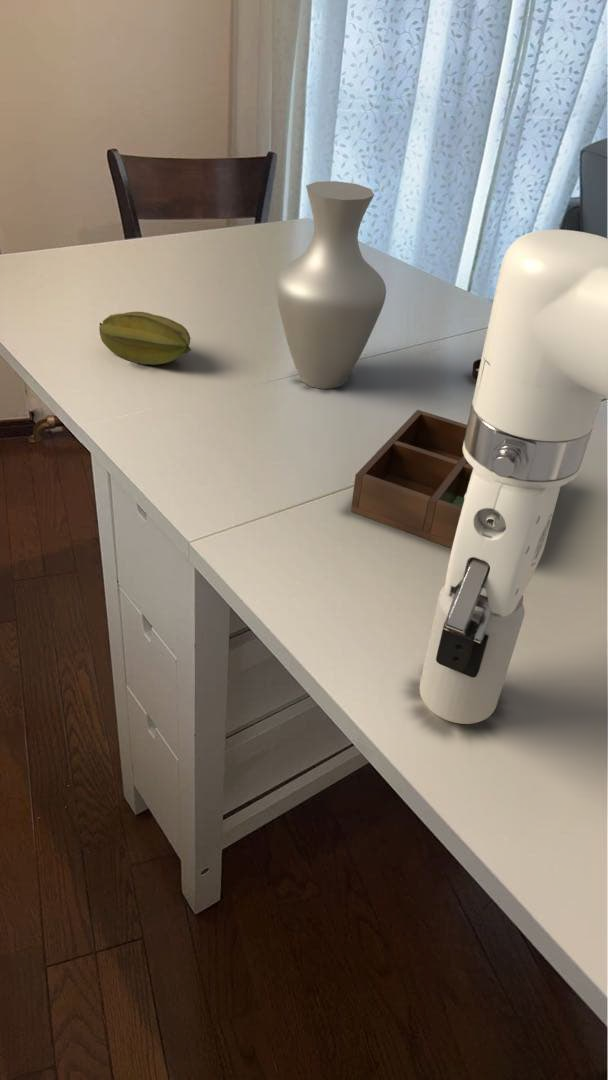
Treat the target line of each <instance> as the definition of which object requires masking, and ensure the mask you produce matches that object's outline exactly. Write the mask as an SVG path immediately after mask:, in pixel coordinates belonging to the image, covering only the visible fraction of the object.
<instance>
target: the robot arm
mask: <svg viewBox="0 0 608 1080" xmlns="http://www.w3.org/2000/svg"><path fill="white" fill-rule="evenodd" d="M493 296H494V297H493V301H492V306H491V310H490V315H489V320H488V324H487V330H486V333H485V339H484V343H483V347H482V348H483V349H482V354H481V358H480V359H481V363H480V368H479V369H478V372H479V373H478V378H477V380H476V383H475V387H474V392H473V398H472V401H471V405H470V410H469V414H468V419H467V424H466V425H467V429H466V433H465V438H464V443H463V454H464V457H465V459H466V460H467V462H468V463H469V464H470V465H471V466H472V467H473V471H472V474H471V478H470V481H469V485H468V488H467V492H466V494H465V496H464V503H463V507H462V510H461V514H460V518H459V522H458V526H457V530H456V534H455V538H454V542H453V546H452V548H451V551H450V555H449V559H448V564H447V570H446V575H445V581H444V582H445V583H444V585H445V589H446V592H447V594H448V595H449V596H450V597H451V596H452V595H454V597H453V600H452V603H451V606H450V609H449V612H448V615H447V618H446V621H445V623H444V626H443V630H442V635H441V639H440V643H439V648H438V652H437V656H436V661H437V663H438V664H440V665H443V666H445V667H448V668H450V669H452V670H455V671H457V672H460V673H462V674H465V675H467V676H469V677H472V678H474V677H476V676H477V674H478V672H479V670H480V666H481V662H482V659H483V655H484V652H485V648H486V645H487V641H488V637H489V636H488V635H486V634H485V632H486V629H487V627H488V624H489V621H490V618H491V615H492V612H493V613H496V614H499V615H500V616H503V617H504V616H507V615H509V614H511V613H512V612H513V611H514V610H515V608H516V606H517V604H518V603H519V601H520V599H521V597H522V595H523V596H524V593H525V591H526V589H527V587H528V585H529V583H530V581H531V579H532V577H533V575H534V573H535V571H536V569H537V566H538V564H539V562H540V561H541V558H542V555H543V553H544V550H545V546H546V544H547V543H546V542H547V539H548V535H549V531H550V527H551V523H552V520H553V516H554V513H555V508H556V505H557V501H558V498H559V494H560V491H561V488H562V486H565V485H567V484H570V483H571V482H572V481H574V480H575V479H576V478H577V476H578V475H579V473H580V470H581V466H582V462H583V460H584V457H585V454H586V450H587V447H588V445H589V441H590V438H591V435H592V433H593V428H594V425H595V422H596V418H597V416H598V413H599V410H600V406H601V402H602V399H605V400H607V401H608V238H607V237H604V236H601V235H598V234H594V233H590V232H584V231H578V230H570V229H543V230H536V231H531V232H527V233H525V234H523V235H521V236H519V237H517V238H516V239H515V240H514V241H513V242H512V243H511V244H510V245H509V247H508V249H507V250H506V252H505V253H504V256H503V258H502V261H501V264H500V269H499V273H498V278H497V283H496V288H495V292H494V295H493ZM483 588H484V589H486V593H487V597H486V596H484V595H481V592H482V589H483ZM476 606H478V607H481V608H483V612H482V615H481V618H480V621H479V624H478V623H477V622H475V621H473V620H472V615H473V612H474V609H475V607H476Z"/></svg>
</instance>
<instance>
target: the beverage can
mask: <svg viewBox="0 0 608 1080" xmlns="http://www.w3.org/2000/svg"><path fill="white" fill-rule="evenodd" d="M481 595H484V596H486V597H487V593H486V589H484V588H483V589H482V592H481ZM453 597H454V595H452V596H451V597H450V596H449V595H448V594H447V592H446V589H445V584H444V585H443V586H442V587H441V589H440V590H439V593H438V598H437V603H436V608H435V612H434V617H433V621H432V626H431V630H430V635H429V641H428V645H427V650H426V653H425V658H424V663H423V667H422V673H421V676H420V681H419V695H420V697H421V700H422V702H423V703H424V705H425V706H426V707H427V708H428V709H429V710H430V711H431V712H432V713H433V714H435V715H436V716H437V717H439V718H441V719H443V720H445V721H448V722H450V723H454V724H459V725H460V724H461V725H464V724H465V725H471V724H472V725H473V724H477V723H480V722H482V721H485V720H486V719H489V718H490V716H491V715H492V714H493V713H494V712H495V710H496V708H497V705H498V703H499V699H500V696H501V693H502V689H503V686H504V683H505V680H506V677H507V674H508V670H509V666H510V663H511V660H512V657H513V654H514V650H515V647H516V644H517V640H518V637H519V634H520V631H521V628H522V625H523V621H524V618H525V613H526V612H525V605H524V604H523V603H524V594H523V595H522V597H521V599H520V601H519V603H518V604H517V606H516V608H515V610H514V611H513V612H512V613H511V614H509V615H507V616H504V617H503V616H500V615H499V614H496V613H493V612H492V615H491V618H490V621H489V624H488V627H487V629H486V632H485V634H486V635H488V636H489V637H488V641H487V645H486V648H485V652H484V655H483V659H482V662H481V666H480V670H479V672H478V674H477V676H476V677H474V678H472V677H469V676H467V675H465V674H462V673H460V672H457V671H455V670H452V669H450V668H448V667H445V666H443V665H440V664H438V663H437V661H436V656H437V652H438V648H439V643H440V639H441V635H442V630H443V626H444V623H445V621H446V618H447V615H448V612H449V609H450V606H451V603H452V600H453ZM482 612H483V608H481V607H478V606H476V607H475V609H474V612H473V615H472V620H473V621H475V622H477V623H478V624H479V621H480V618H481V615H482Z"/></svg>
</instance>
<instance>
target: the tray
mask: <svg viewBox="0 0 608 1080" xmlns="http://www.w3.org/2000/svg"><path fill="white" fill-rule="evenodd" d="M466 429H467V424H466V423H462V422H459V421H456V420H453V419H450V418H447V417H443V416H440V415H437V414H433V413H430V412H428V411H423V410H420V409H417V410H415V411H414V412H413V414H412V415H411V416H410V417H408V419H406V421H405V422H404V423H403V424H402V425H401V426H400V427H399V428H398V429H397V430H396V431H395V432H394V433H393V434H392V436H391V437H390V438H389V439H388V440H387V441H386V442H385V443H384V444H383V445H382V446H381V447H380V448H379V449H378V451H377V452H376V453H375V454H374V455H372V457H371V458H370V459H369V460H368V461H367V462H366V463H365V464H363V466H362V467H361V468H360V469H359V470H358V472H356V473H355V477H354V484H353V492H352V497H351V498H352V499H351V505H350V507H351V508H350V512H352V513H354V514H356V515H359V516H362V517H365V518H367V519H370V520H373V521H375V522H379V523H381V524H384V525H387V526H389V527H392V528H395V529H398V530H400V531H403V532H406V533H408V534H411V535H413V536H417V537H419V538H422V539H425V540H428V541H430V542H433V543H436V544H439V545H442V546H444V547H447V548H449V549H452V546H453V542H454V538H455V534H456V530H457V526H458V522H459V518H460V514H461V510H462V507H463V503H464V496H465V494H466V492H467V488H468V485H469V481H470V478H471V474H472V471H473V467H472V466H471V465H470V464H469V463H468V462H467V460H466V459H465V457H464V454H463V443H464V438H465V433H466Z"/></svg>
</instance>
